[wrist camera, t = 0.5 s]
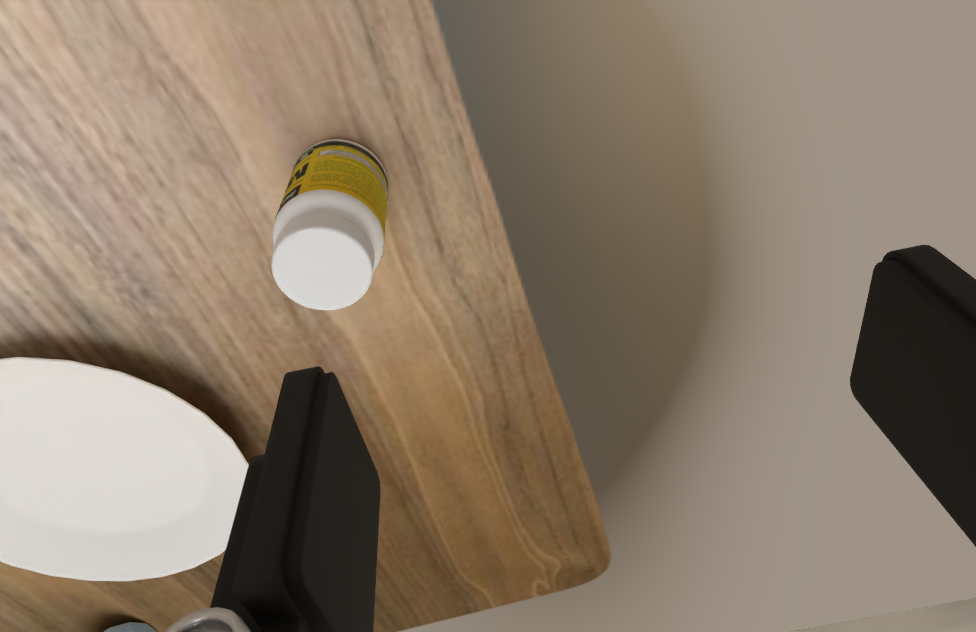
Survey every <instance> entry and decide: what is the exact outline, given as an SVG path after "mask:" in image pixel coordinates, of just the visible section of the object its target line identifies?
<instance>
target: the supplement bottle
mask: <svg viewBox="0 0 976 632" xmlns="http://www.w3.org/2000/svg"><path fill="white" fill-rule="evenodd" d="M387 200H388V178H387V174H386V171H385V169H384V167H383V165H382V163H381V162H380V160H379V159H378V158H377V157H376V156H375V154H373V153H372V152H371V151H370V150H369V149H367V148H366V147H364V146H362V145H360V144H358V143H356V142H353V141H349V140H343V139H329V140H324V141H321V142H318V143H316V144H314V145H312V146H311V147H309V148H308V149H307V150H305V151H304V152H303V154H302V155H301V156H300V157H299V159H298V160H297V162H296V164H295V166H294V169H293V172H292V175H291V178H290V180H289V183H288V186H287V188H286V191H285V194H284V197H283V200H282V202H281V205H280V208H279V210H278V213H277V215H276V218H275V221H274V227H273V244H274V252H273V256H272V273H273V276H274V279H275V281H276V283H277V285H278V286H279V288H280V289H281V290H282V291H283V292H284V294H285V295H286V296H288V297H289V298H290V299H291V300H293V301H295V302H296V303H298V304H300V305H302V306H305V307H308V308H312V309H317V310H335V309H340V308H344V307H347V306H349V305H351V304H353V303H355V302H356V301H357V300H359V299H360V298H361V297H362V296H363V295H364V294H365V292H366V291H367V289H368V288H369V286H370V283H371V280H372V276H373V271H374V270H375V268H376V267H377V265H378V263H379V262H380V259H381V257H382V253H383V248H384V237H385V223H386V211H387Z"/></svg>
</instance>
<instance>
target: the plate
mask: <svg viewBox="0 0 976 632" xmlns="http://www.w3.org/2000/svg"><path fill="white" fill-rule="evenodd" d="M248 467H249V464H248V462H247V461H246V459H245V458H244V456H243V455H242V453H241V452H240V450H239V449H238V447H237V445H236V444H235V442H234V441H233V439H232V438H231V437H230V436H229V435H228V434H227V433H226V432H224V431H223V430H222V429H221V428H220V427H219V426H218V425H217V424H216V423H215V422H214V421H213V420H212V419H210V418H209V417H208V416H207V415H206V414H205V413H204V412H202V411H201V410H199V409H197V408H196V407H194V406H193V405H191V404H189V403H188V402H186V401H184V400H183V399H181V398H179V397H178V396H176V395H175V394H173V393H171V392H170V391H168V390H166V389H164V388H161V387H159V386H156V385H154V384H151V383H149V382H146V381H144V380H141V379H139V378H136V377H134V376H131V375H128V374H126V373H123V372H121V371H116V370H112V369H107V368H103V367H98V366H94V365H90V364H85V363H81V362H76V361H72V360H60V359H45V358H29V357H12V358H3V359H0V561H1V562H3V563H6V564H8V565H11V566H15V567H19V568H23V569H27V570H31V571H34V572H38V573H42V574H46V575H50V576H57V577H65V578H73V579H80V580H88V581H133V580H141V579H149V578H157V577H164V576H167V575H171V574H174V573H177V572H181V571H184V570H188V569H191V568H194V567H196V566H198V565H200V564H202V563H204V562H206V561H208V560H210V559H212V558H214V557H216V556H218V555H220V554H221V553H222V552H223V551H225V550H226V547H227V544H228V540H229V536H230V532H231V529H232V525H233V521H234V518H235V514H236V510H237V506H238V503H239V499H240V495H241V492H242V488H243V484H244V480H245V477H246V473H247V469H248Z"/></svg>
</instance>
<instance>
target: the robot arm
mask: <svg viewBox="0 0 976 632" xmlns="http://www.w3.org/2000/svg"><path fill="white" fill-rule="evenodd" d="M850 386H851V390H852V392H853V395H854V397H855V398H856V400H857V401H858V402H859V403H860V405H861V406H862V407H863V408H864V410H865V411H866V412H867V413H868V415H869V416H870V417H871V418H872V420H873V421H874V422H875V423H876V424H877V426H878V427H879V428H880V429H881V431H882V432H883V433H884V434H885V436H886V437H887V438H888V439H889V441H890V442H891V443H892V444H893V445H894V446H895V448H896V449H897V450H898V452H899V453H900V454H901V455H902V457H903V458H904V459H905V460H906V461H907V462H908V464H909V465H910V466H911V468H912V469H913V470H914V471H915V472H916V474H917V475H918V476H919V477H920V479H921V480H922V481H923V482H924V483H925V485H926V486H927V487H928V489H929V490H930V491H931V492H932V493H933V495H934V496H935V497H936V498H937V499H938V501H939V502H940V503H941V505H942V506H943V507H944V508H945V509H946V511H947V512H948V513H949V514H950V516H951V517H952V518H953V519H954V520H955V522H956V523H957V524H958V525H959V527H960V528H961V529H962V530H963V531H964V533H965V534H966V535H967V536H968V538H969V539H970V540H971V541H972V543H973V544H974V545H975V546H976V279H974V278H973V277H971V276H970V275H969V274H968V273H966V272H965V271H964V270H962V269H961V268H960V267H958V266H957V265H956V264H954V263H953V262H952V261H950V260H949V259H948V258H947V257H945V256H944V255H943V254H941V253H940V252H938V251H937V250H936V249H934V248H933V247H931V246H929V245H920V246H915V247H910V248H905V249H900V250H895V251H891V252H889V253H887V254H886V255H885V256H884V258H883V260H882V262H880V263H878V264H877V265H876V266H875V268H874V270H873V275H872V280H871V284H870V289H869V293H868V298H867V303H866V307H865V312H864V317H863V322H862V326H861V331H860V335H859V340H858V344H857V349H856V354H855V359H854V363H853V368H852V372H851V377H850ZM379 507H380V482H379V477H378V473H377V470H376V468H375V466H374V463H373V461H372V459H371V456H370V454H369V452H368V449H367V447H366V445H365V442H364V440H363V438H362V435H361V433H360V431H359V428H358V426H357V424H356V421H355V419H354V417H353V415H352V412H351V410H350V408H349V405H348V403H347V401H346V398H345V396H344V394H343V391H342V389H341V387H340V384H339V382H338V380H337V378H336V376H335V374H334V373H333V372H330V373H324V371H323V369H322V368H321V367H318V366H317V367H313V368H308V369H303V370H298V371H293V372H288V373H286V374H285V376H284V379H283V383H282V387H281V391H280V395H279V399H278V403H277V408H276V412H275V416H274V420H273V424H272V428H271V432H270V436H269V440H268V444H267V448H266V452H265V454H264V455H259V456H255V457H254V458H253V459H252V460H251V462H250V464H249V467H248V469H247V473H246V477H245V480H244V484H243V488H242V492H241V495H240V499H239V503H238V506H237V510H236V514H235V518H234V521H233V525H232V529H231V532H230V536H229V540H228V544H227V547H226V551H225V555H224V558H223V562H222V566H221V569H220V573H219V577H218V581H217V584H216V588H215V592H214V595H213V599H212V603H211V607H210V608H206V609H201V610H199V611H196V612H194V613H191V614H189V615H186V616H185V617H183V618H182V619H180V620H179V621H177V622H176V623H174V624H173V625H171V626H170V627H169V628H168V629H167V630H166V631H165V632H373V623H374V604H375V584H376V565H377V546H378V526H379ZM792 632H976V598H974V599H969V600H963V601H958V602H952V603H946V604H940V605H935V606H929V607H924V608H918V609H913V610H907V611H901V612H896V613H891V614H885V615H879V616H874V617H869V618H863V619H858V620H852V621H846V622H841V623H835V624H830V625H825V626H820V627H814V628H808V629H803V630H798V631H792Z"/></svg>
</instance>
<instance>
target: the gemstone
mask: <svg viewBox="0 0 976 632" xmlns="http://www.w3.org/2000/svg"><path fill="white" fill-rule="evenodd" d="M104 632H158V631H156V630H155V629H153V628H152V627H151V626H149V625H148V624H147V623H136V622H128V623H124V624H121V625H117V626H114V627H110V628H109V629H107V630H105V631H104Z"/></svg>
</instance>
